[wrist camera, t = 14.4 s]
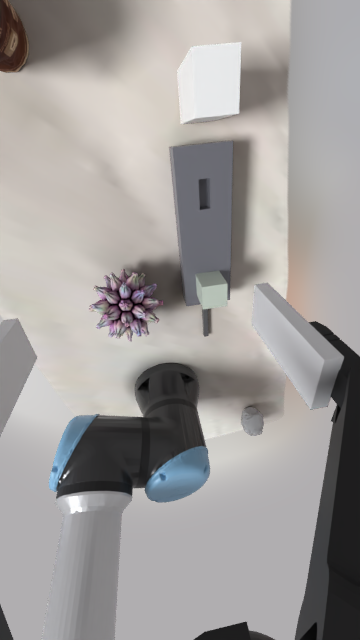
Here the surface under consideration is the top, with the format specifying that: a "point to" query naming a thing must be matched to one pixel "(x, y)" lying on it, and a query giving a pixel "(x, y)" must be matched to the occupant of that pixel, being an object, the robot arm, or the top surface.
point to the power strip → (203, 213)
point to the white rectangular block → (209, 83)
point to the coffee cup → (12, 39)
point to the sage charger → (211, 289)
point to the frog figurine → (252, 421)
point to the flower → (126, 305)
